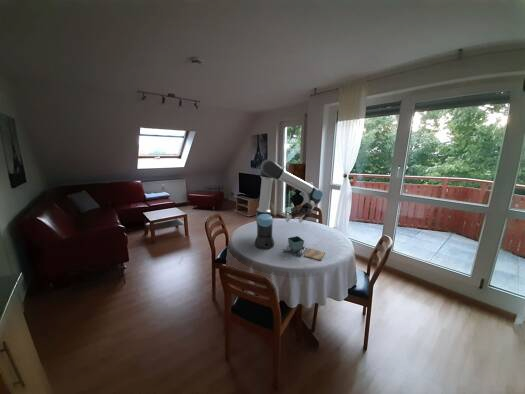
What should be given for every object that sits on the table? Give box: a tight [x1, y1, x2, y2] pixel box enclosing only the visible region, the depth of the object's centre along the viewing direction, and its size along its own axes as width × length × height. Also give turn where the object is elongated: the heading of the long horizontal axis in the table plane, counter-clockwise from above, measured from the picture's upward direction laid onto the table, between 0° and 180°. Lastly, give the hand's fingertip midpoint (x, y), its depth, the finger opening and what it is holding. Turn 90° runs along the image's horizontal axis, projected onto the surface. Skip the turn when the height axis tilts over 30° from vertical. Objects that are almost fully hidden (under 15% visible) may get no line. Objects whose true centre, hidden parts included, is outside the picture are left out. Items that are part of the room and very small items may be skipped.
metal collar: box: [283, 244, 308, 258], centre depth 154 cm, size 13×13×2 cm
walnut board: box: [303, 247, 326, 262], centre depth 149 cm, size 12×12×1 cm
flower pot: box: [287, 235, 305, 253], centre depth 153 cm, size 9×9×9 cm
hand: (292, 221), depth 155 cm, fingers open, 13 cm apart
